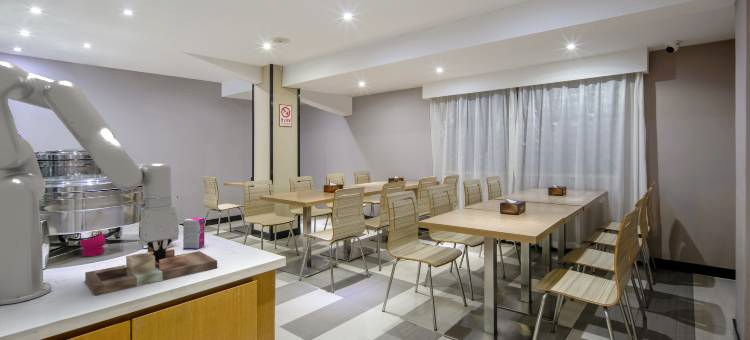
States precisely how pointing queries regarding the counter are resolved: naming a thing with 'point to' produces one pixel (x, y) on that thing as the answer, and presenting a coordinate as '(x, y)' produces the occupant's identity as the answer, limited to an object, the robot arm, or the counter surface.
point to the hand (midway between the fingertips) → (159, 261)
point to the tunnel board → (149, 272)
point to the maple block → (140, 262)
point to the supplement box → (193, 233)
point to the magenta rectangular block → (93, 245)
